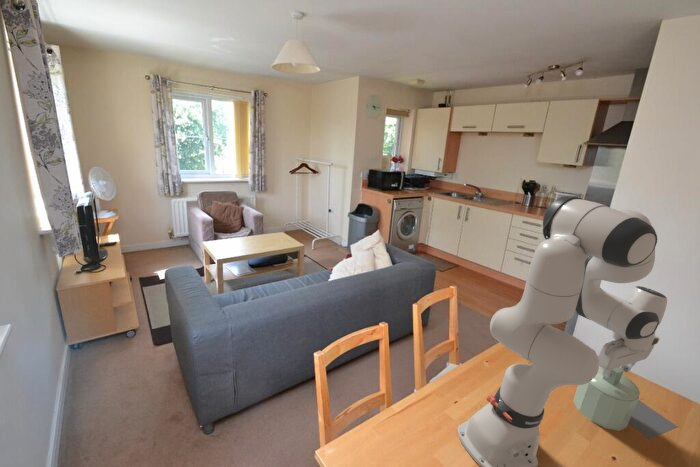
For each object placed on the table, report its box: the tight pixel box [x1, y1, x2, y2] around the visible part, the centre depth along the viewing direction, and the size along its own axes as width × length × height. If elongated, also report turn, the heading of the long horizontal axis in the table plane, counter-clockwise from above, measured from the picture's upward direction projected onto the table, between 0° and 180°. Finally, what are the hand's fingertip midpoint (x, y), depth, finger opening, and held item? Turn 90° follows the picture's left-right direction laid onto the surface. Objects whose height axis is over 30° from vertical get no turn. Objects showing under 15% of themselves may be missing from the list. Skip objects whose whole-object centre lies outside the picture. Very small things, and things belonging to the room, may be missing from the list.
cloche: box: [573, 366, 641, 432], centre depth 103 cm, size 14×14×18 cm
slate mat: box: [628, 399, 678, 440], centre depth 106 cm, size 15×15×1 cm
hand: (615, 373), depth 101 cm, fingers open, 8 cm apart
